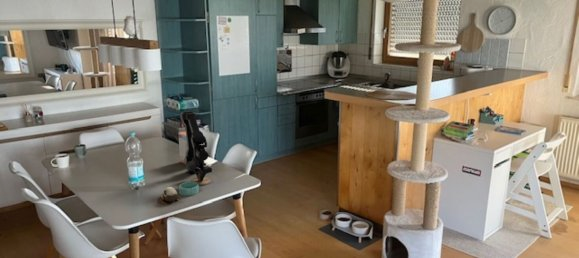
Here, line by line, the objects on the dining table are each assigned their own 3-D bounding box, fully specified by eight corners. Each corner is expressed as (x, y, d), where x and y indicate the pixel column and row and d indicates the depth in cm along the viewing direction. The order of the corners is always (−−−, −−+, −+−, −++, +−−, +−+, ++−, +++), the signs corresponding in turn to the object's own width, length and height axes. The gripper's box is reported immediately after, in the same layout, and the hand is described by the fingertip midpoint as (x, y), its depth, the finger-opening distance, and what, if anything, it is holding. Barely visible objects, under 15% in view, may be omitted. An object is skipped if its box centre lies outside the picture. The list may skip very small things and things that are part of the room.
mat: (186, 182, 260) (186, 181, 260) (203, 177, 268) (203, 176, 268) (196, 188, 252) (196, 187, 252) (214, 183, 260) (214, 182, 260)
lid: (186, 181, 260) (185, 174, 259) (203, 176, 268) (203, 169, 267) (196, 187, 252) (196, 179, 251) (214, 182, 260) (214, 174, 258)
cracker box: (198, 165, 290) (196, 135, 284) (190, 167, 286) (188, 136, 280) (187, 160, 300) (186, 130, 294) (179, 161, 296) (177, 132, 291)
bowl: (175, 191, 247) (175, 185, 246) (192, 186, 254) (192, 180, 253) (185, 197, 239) (185, 190, 238) (202, 192, 246) (202, 185, 245)
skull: (151, 199, 235) (161, 182, 238) (165, 206, 242) (175, 190, 245) (163, 204, 227) (173, 187, 230) (177, 212, 234) (187, 195, 237)
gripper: (178, 154, 257) (180, 179, 261) (195, 162, 244) (196, 188, 248) (195, 150, 264) (196, 174, 268) (212, 158, 251) (213, 183, 255)
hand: (200, 180), depth 260 cm, fingers closed on lid, 3 cm apart
